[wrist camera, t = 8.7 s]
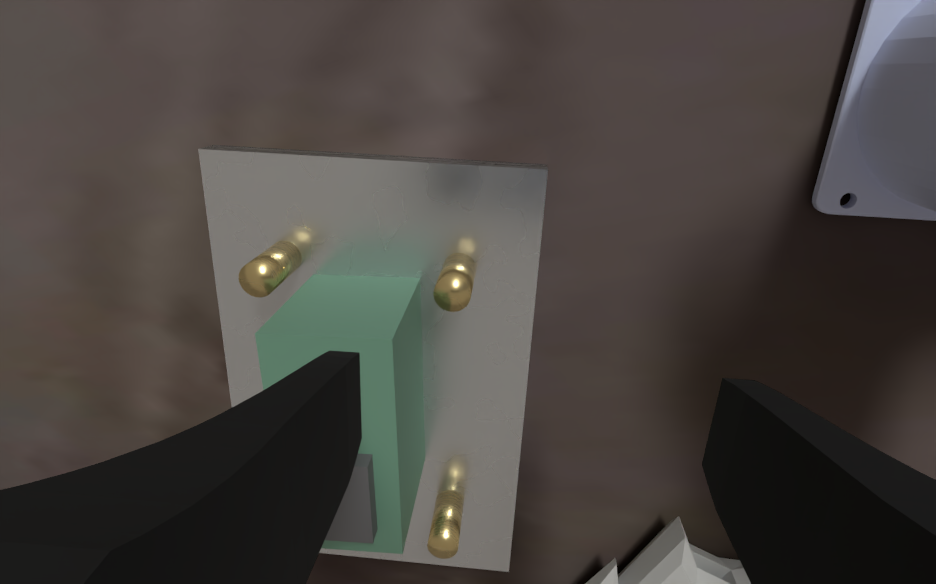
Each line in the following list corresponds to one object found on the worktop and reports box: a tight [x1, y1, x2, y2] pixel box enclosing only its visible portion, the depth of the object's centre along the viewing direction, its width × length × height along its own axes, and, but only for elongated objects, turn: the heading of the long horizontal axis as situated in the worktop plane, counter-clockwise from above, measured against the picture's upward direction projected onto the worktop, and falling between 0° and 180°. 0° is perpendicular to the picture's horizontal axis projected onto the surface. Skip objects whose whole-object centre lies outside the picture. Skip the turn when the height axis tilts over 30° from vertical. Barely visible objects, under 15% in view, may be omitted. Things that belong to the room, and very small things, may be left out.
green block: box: [255, 275, 425, 554], centre depth 20 cm, size 4×8×6 cm, turn 0°
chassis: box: [198, 145, 548, 572], centre depth 22 cm, size 12×18×4 cm, turn 177°
